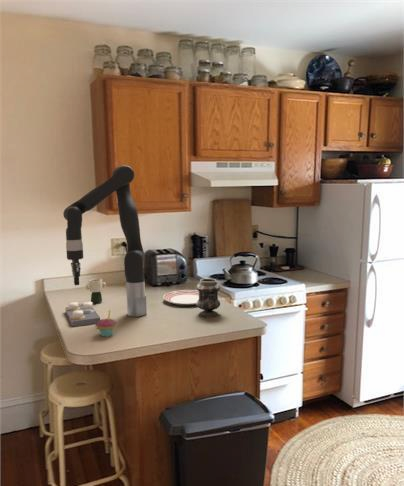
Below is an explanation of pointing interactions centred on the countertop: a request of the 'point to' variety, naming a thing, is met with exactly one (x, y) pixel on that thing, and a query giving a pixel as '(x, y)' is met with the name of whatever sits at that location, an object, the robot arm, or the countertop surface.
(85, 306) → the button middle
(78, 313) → the button front
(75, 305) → the button back
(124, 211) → the robot arm
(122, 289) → the countertop surface
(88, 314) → the button board
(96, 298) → the character mug
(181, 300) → the dinner plate
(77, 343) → the countertop surface
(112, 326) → the cupcake
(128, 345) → the countertop surface
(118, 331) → the countertop surface
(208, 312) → the apothecary jar
